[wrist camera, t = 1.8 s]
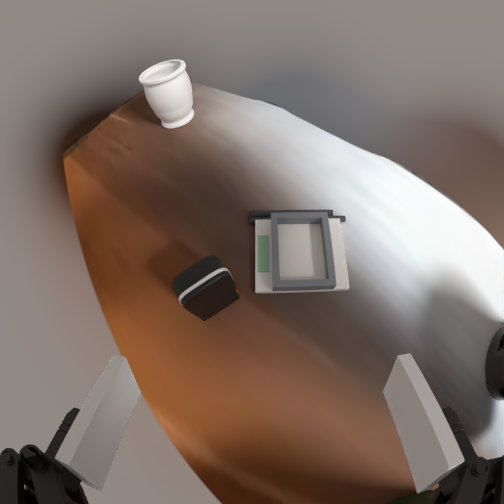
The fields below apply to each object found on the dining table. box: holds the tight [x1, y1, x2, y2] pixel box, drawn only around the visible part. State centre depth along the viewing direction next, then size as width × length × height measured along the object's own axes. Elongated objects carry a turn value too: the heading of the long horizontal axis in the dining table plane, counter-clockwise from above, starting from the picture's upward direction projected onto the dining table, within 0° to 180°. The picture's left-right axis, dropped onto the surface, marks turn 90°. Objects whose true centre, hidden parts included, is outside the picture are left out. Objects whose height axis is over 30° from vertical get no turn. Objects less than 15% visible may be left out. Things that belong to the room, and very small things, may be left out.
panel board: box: [255, 212, 349, 293], centre depth 41 cm, size 14×12×3 cm
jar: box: [139, 60, 194, 129], centre depth 52 cm, size 11×10×15 cm
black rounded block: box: [172, 256, 239, 321], centre depth 35 cm, size 7×4×11 cm, turn 125°
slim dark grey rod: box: [249, 210, 345, 223], centre depth 44 cm, size 16×2×1 cm, turn 90°
